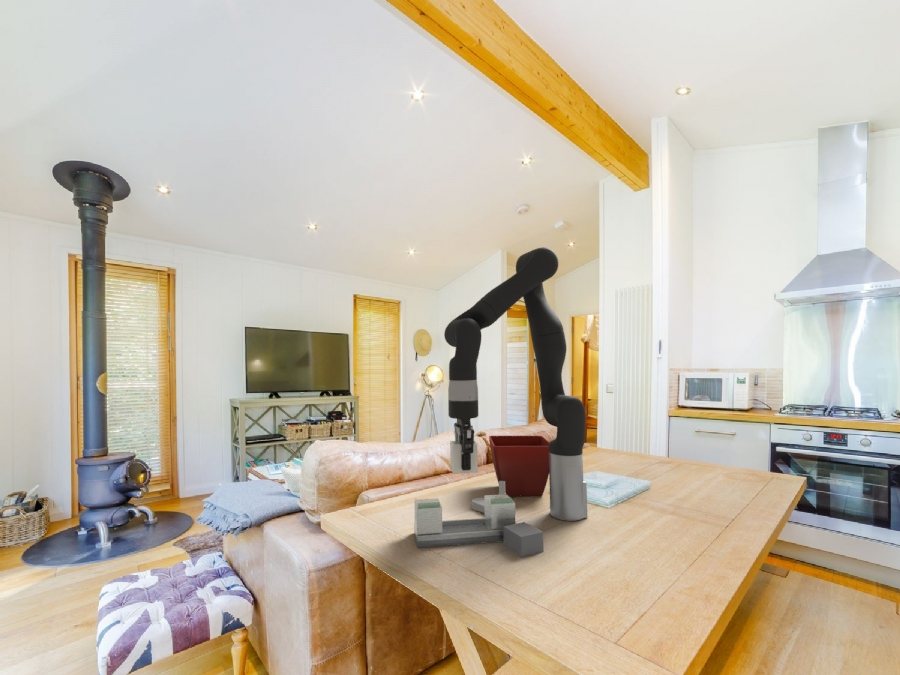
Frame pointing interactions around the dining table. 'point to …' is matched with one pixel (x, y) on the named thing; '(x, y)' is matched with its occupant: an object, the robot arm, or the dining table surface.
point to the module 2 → (523, 539)
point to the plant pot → (521, 464)
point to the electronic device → (479, 502)
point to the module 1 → (456, 458)
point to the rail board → (462, 523)
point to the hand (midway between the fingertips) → (464, 467)
